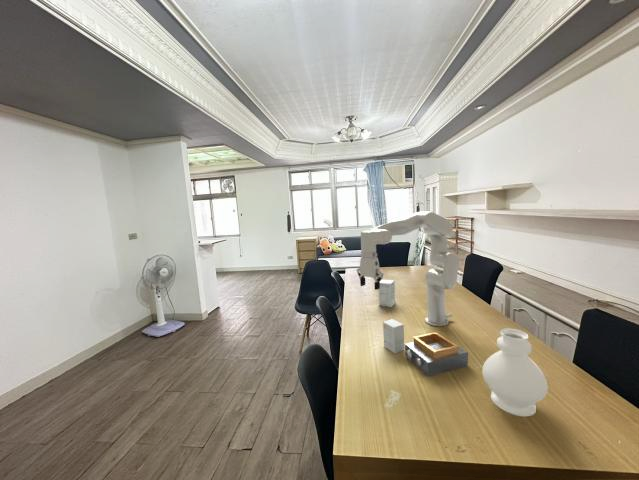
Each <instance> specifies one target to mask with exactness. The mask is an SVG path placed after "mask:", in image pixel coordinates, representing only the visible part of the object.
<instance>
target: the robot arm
mask: <svg viewBox="0 0 639 480" xmlns="http://www.w3.org/2000/svg"><path fill="white" fill-rule="evenodd" d="M422 228H423V231H424V233H426V234H427V235H428V237H429V239H430V242H431V243H430V244H431V245H430V253H429V262H430V265H431V266H433V267H436V268H431V269H428V270H427V271H426V273H425V274H424V279H425V280H424V281H425V284H426V290H427V291H426V293H427V298H426V300H427V303H426V304H427V316H426V317H425V318H424V321H425V323H426V324H427V325H431V326H432V327H433V326H434V327H446V326H447V325H449V320H448V318H452V317H453V314H452V313H447V312H446V291H445V290H447V291H449V290H452V289H454V288H455V287H456V285H457V282H458V275H459V268H460V267H459V266H460V263H459V257H458V255H457V254H455V253H453V252H451V251H448V245H449V244H448V239H447V236H449V235H451V234H452V233H453V229H454V227H453V223H452V222H451V221H450V220H448V219H447V218H445V217H442V216H441V215H440V214H437V213H435V212H433V211H417V212H415V213H412V214H409V215H407V216H404V217H403V218H400V219H397V220H396V219H395V220H394V221H391V222H387V223H383V224H381V225H378V226H376V227H373V228H372V229H370V230H363V231H361V232H360V248H361V249H360V252H361V253H360V254H361V255H360V261H359V263H360V264H359V267H358V268H357V269H356V273H357V275H358V278H359V281H360V283H359V284H360V286H361V287H363V286H366V277H367V278H370V279H371V278H372V279H373V280H374V290H378V289H380V281H381V280H383V277H384V273H383V272H382V271H380V270H381V268H380V267H381V266H380V262H379V261H380V260H379V258H378V253H377V245H386V244H389V243H390V242H391V241H392V239H393V236H403V235H404V236H405V235H408V234H409V233H412V232H414V231H416V230H419V229H422ZM438 268H441V269H438ZM442 269H443V270H442Z"/></svg>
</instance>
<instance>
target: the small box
mask: <svg viewBox="0 0 639 480" xmlns="http://www.w3.org/2000/svg"><path fill="white" fill-rule="evenodd" d="M404 324H405V323H402V322H399V321H397V320H396V319H393V318H391V319H388V320H384V321H383V322H382V327H383V328H382V329H383V330H382V331H383V347H384V348H386V349H388V350H389V351H391V352H392V353H394V354H397V353H399V352H403V351H405V325H404Z"/></svg>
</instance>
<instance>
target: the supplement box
mask: <svg viewBox="0 0 639 480" xmlns="http://www.w3.org/2000/svg"><path fill="white" fill-rule="evenodd" d="M395 284H396V283H395V280H391V279H381V281H380V289H377V290H378V291H377V292H378V306H379V305H381V307H386V306H387V307H388V308H392V307H394V305H396V303H397V301H396V285H395Z"/></svg>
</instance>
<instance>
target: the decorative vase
mask: <svg viewBox="0 0 639 480" xmlns="http://www.w3.org/2000/svg"><path fill="white" fill-rule="evenodd" d="M528 340H529V335H528V333H526V332H524V331H523V330H519V329H516V328H503V329H501V330H500V336H499V337H498V338H497V340H496V344H497V346H498V348H499V349H500V350H498V351H496V352H494V353H492V354H491V355H490V356H489V357H488V358H487V359H486V360H485V362H484V363H483V365H482V371H481V372H482V378H483V381H484V382H485V384H486V385H487V387H489V389H490V390H491V392H490V399H491V401H492V402H493V404H494V405H495V406H497V408H499V409H500V410H502V411H504V412H505V413H508V414H510V415H513V416H518V417H531V416H534V415H535V414H536V412H537V405H536V403H538V402H540V401H542V400H544V398H545V397H546V396H547V393H548V381H547V378H546V377H545V375H544V373H543V371H542V370H541V368H539V366H538V365H537V364H536V363H535V361H533V360H532V359H531V358H530V357H529V356H528V355H529V354H531V353H532V351H533V347H532V345H531V343H530V342H529V341H528Z"/></svg>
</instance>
